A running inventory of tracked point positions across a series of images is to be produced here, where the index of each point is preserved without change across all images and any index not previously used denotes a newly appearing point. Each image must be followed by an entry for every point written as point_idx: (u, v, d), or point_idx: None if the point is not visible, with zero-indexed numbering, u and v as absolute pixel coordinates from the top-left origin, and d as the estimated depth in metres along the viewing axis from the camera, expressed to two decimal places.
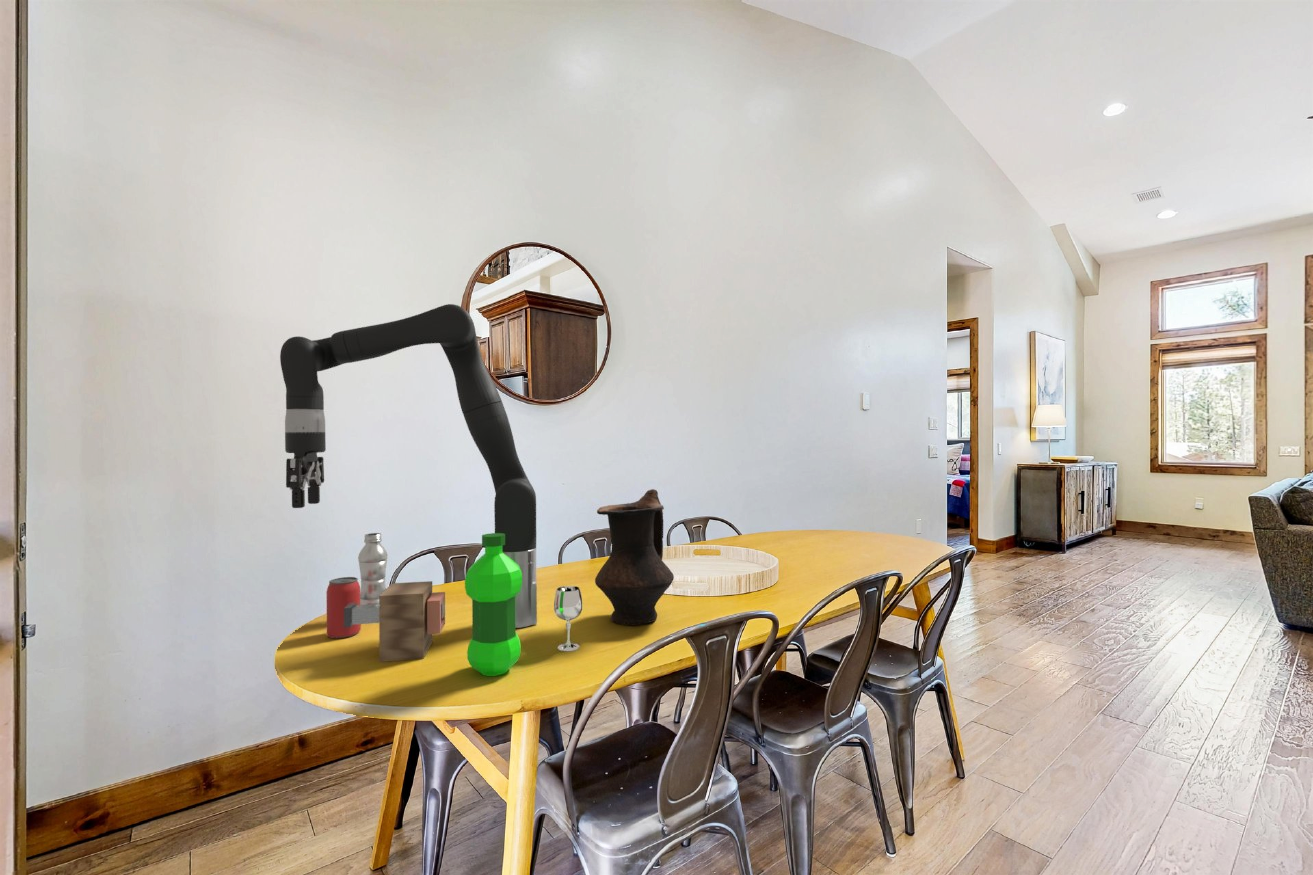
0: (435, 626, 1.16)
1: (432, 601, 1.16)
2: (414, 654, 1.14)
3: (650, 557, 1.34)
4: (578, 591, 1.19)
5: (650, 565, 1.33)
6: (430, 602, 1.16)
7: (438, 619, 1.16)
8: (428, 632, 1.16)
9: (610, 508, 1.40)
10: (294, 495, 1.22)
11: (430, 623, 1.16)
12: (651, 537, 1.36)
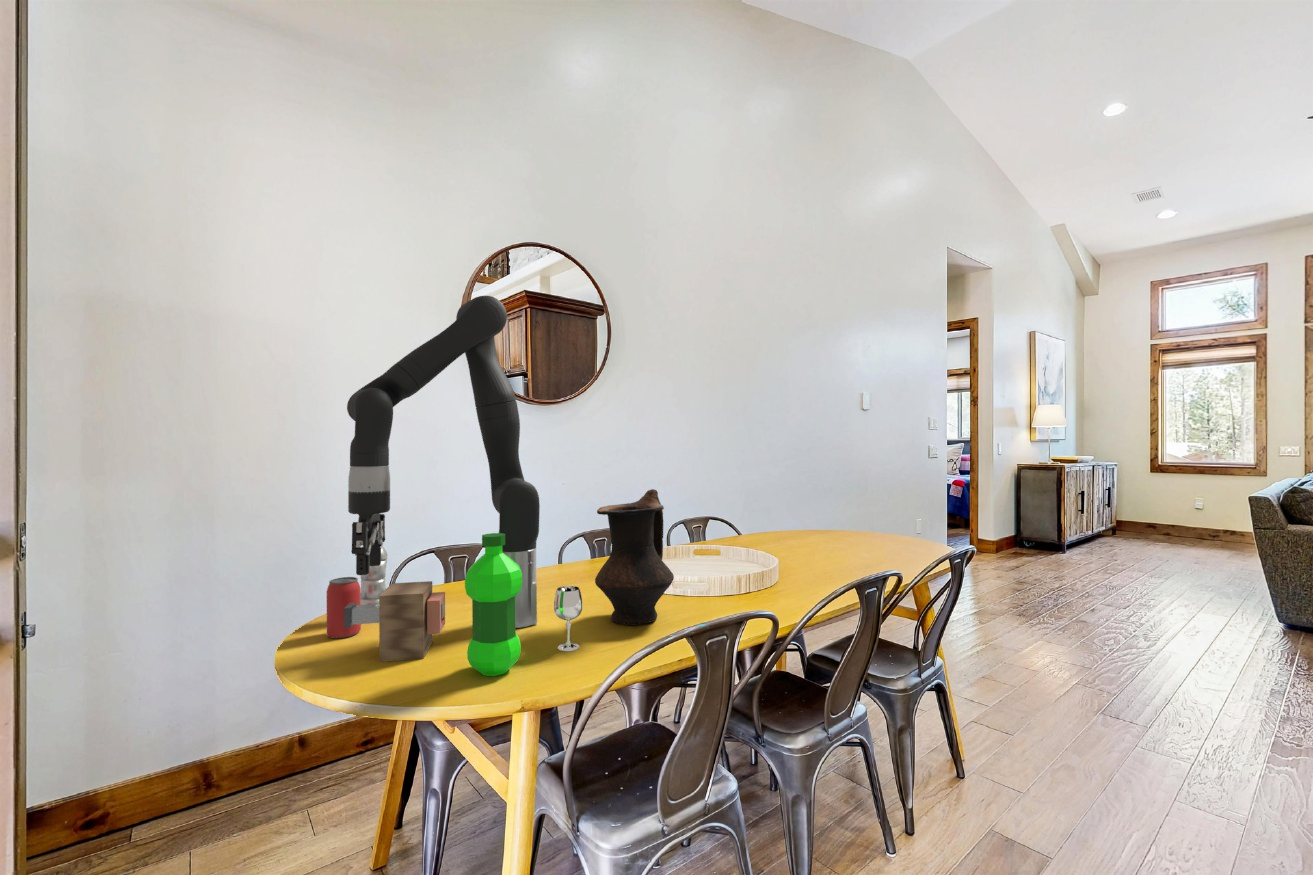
0: (435, 626, 1.16)
1: (432, 601, 1.16)
2: (414, 654, 1.14)
3: (650, 557, 1.34)
4: (578, 591, 1.19)
5: (650, 565, 1.33)
6: (430, 602, 1.16)
7: (438, 619, 1.16)
8: (428, 632, 1.16)
9: (610, 508, 1.40)
10: (359, 561, 1.12)
11: (430, 623, 1.16)
12: (651, 537, 1.36)
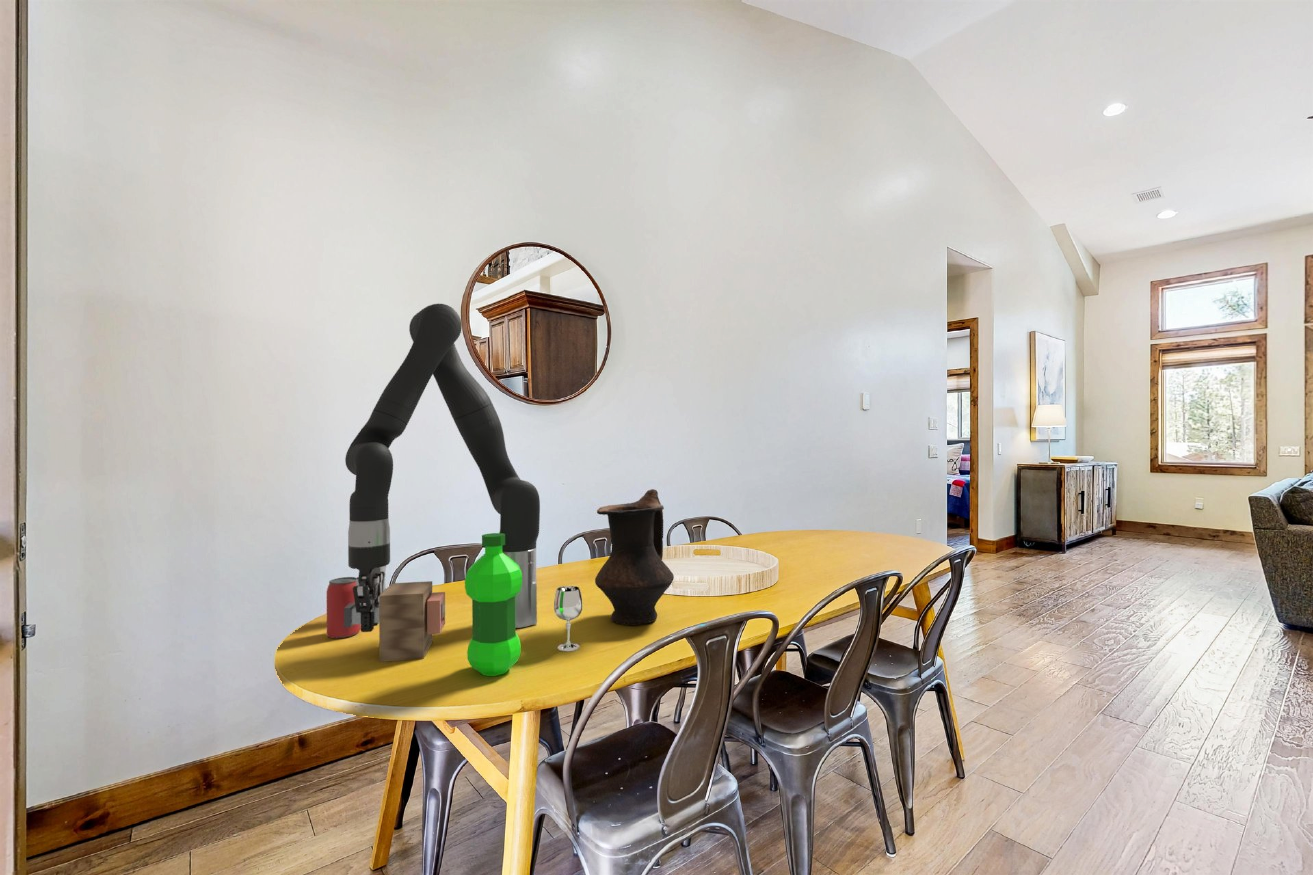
0: (435, 626, 1.16)
1: (432, 601, 1.16)
2: (414, 654, 1.14)
3: (650, 557, 1.34)
4: (578, 591, 1.19)
5: (650, 565, 1.33)
6: (430, 602, 1.16)
7: (438, 619, 1.16)
8: (428, 632, 1.16)
9: (610, 508, 1.40)
10: (363, 619, 1.14)
11: (430, 623, 1.16)
12: (651, 537, 1.36)
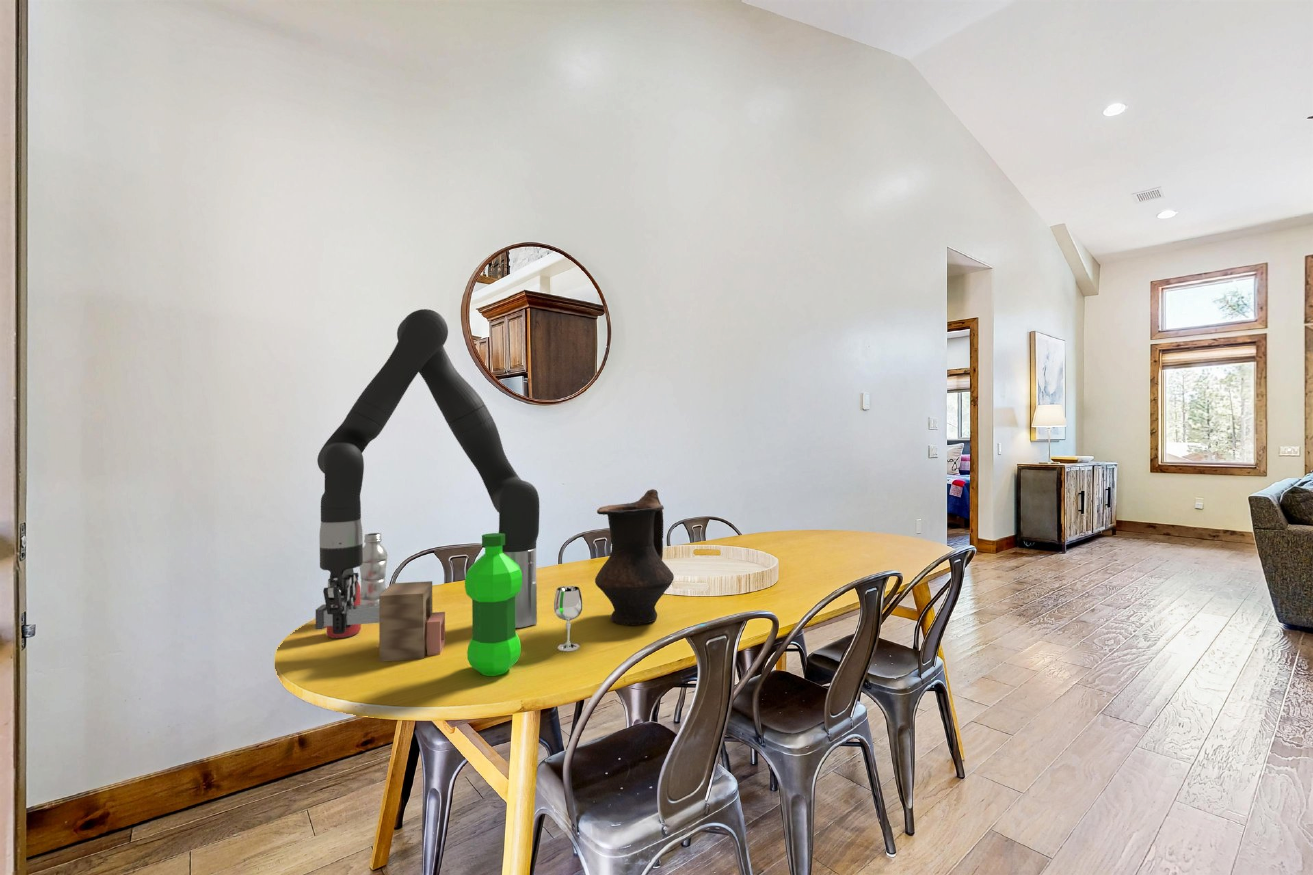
0: (435, 647, 1.16)
1: (432, 622, 1.16)
2: (414, 654, 1.14)
3: (650, 557, 1.34)
4: (578, 591, 1.19)
5: (650, 565, 1.33)
6: (430, 623, 1.16)
7: (438, 640, 1.16)
8: (428, 653, 1.16)
9: (610, 508, 1.40)
10: (335, 621, 1.13)
11: (430, 644, 1.16)
12: (651, 537, 1.36)
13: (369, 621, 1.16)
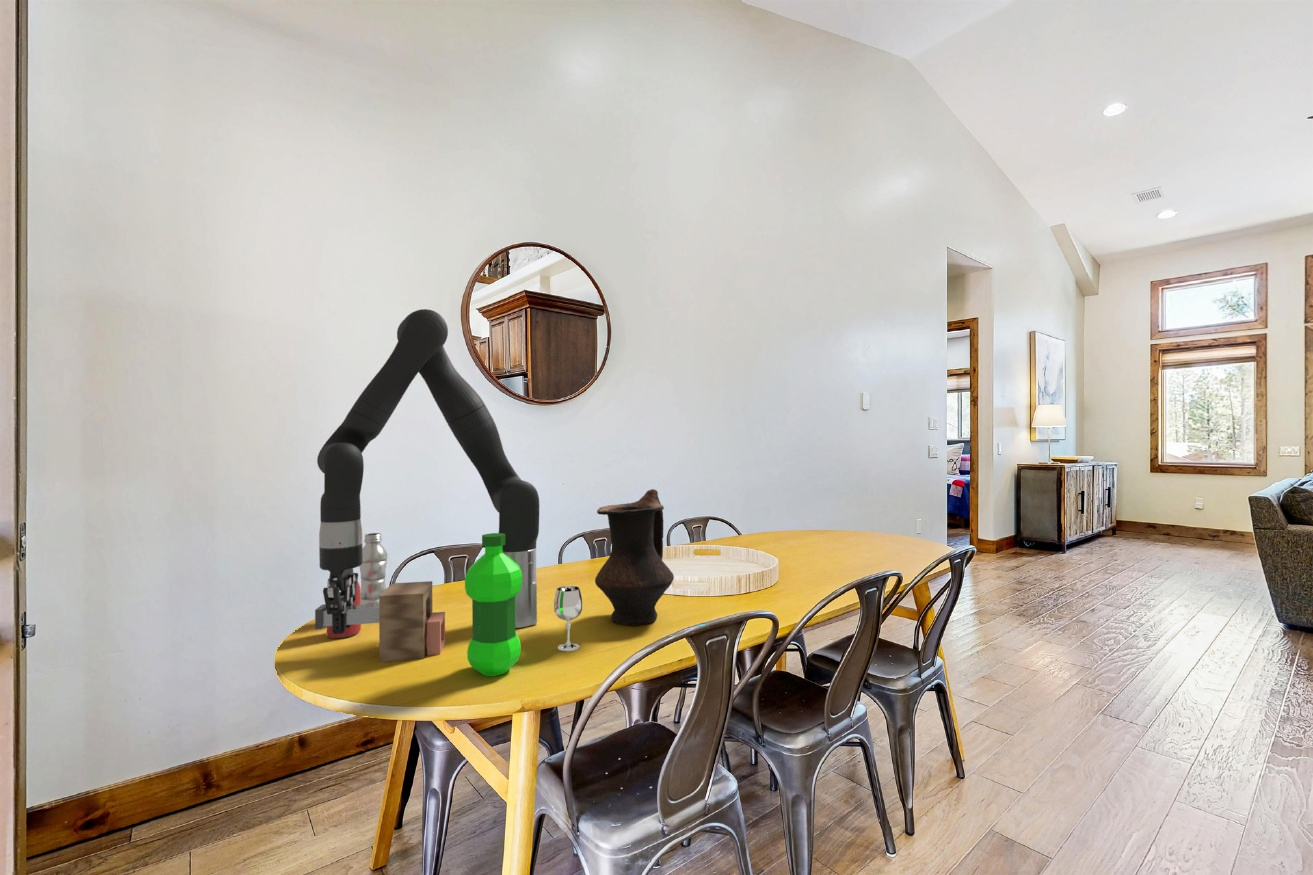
0: (435, 647, 1.16)
1: (432, 622, 1.16)
2: (414, 654, 1.14)
3: (650, 557, 1.34)
4: (578, 591, 1.19)
5: (650, 565, 1.33)
6: (430, 623, 1.16)
7: (438, 640, 1.16)
8: (428, 653, 1.16)
9: (610, 508, 1.40)
10: (335, 621, 1.13)
11: (430, 644, 1.16)
12: (651, 537, 1.36)
13: (369, 621, 1.15)
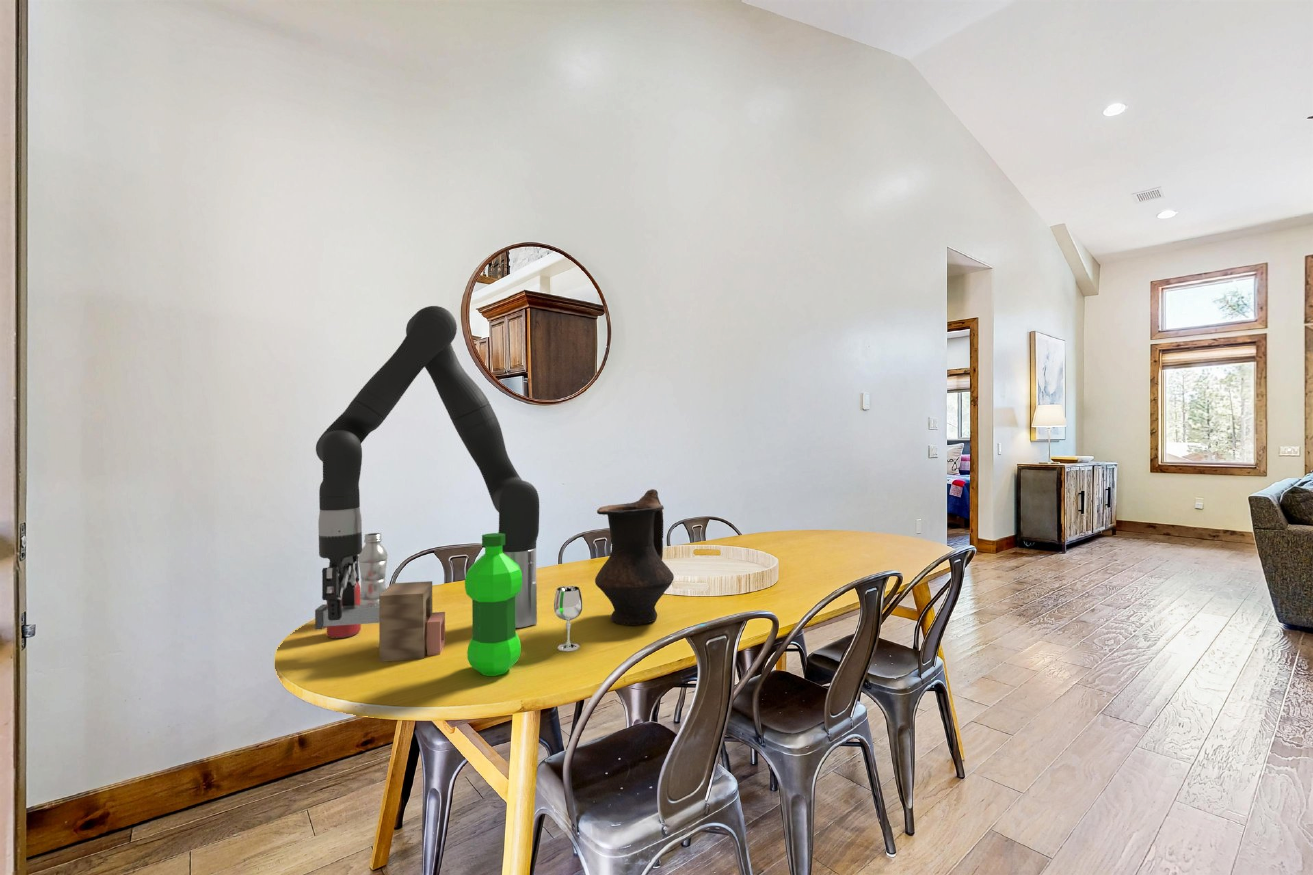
0: (435, 647, 1.16)
1: (432, 622, 1.16)
2: (414, 654, 1.14)
3: (650, 557, 1.34)
4: (578, 591, 1.19)
5: (650, 565, 1.33)
6: (430, 623, 1.16)
7: (438, 640, 1.16)
8: (428, 653, 1.16)
9: (610, 508, 1.40)
10: (331, 607, 1.11)
11: (430, 644, 1.16)
12: (651, 537, 1.36)
13: (369, 621, 1.15)
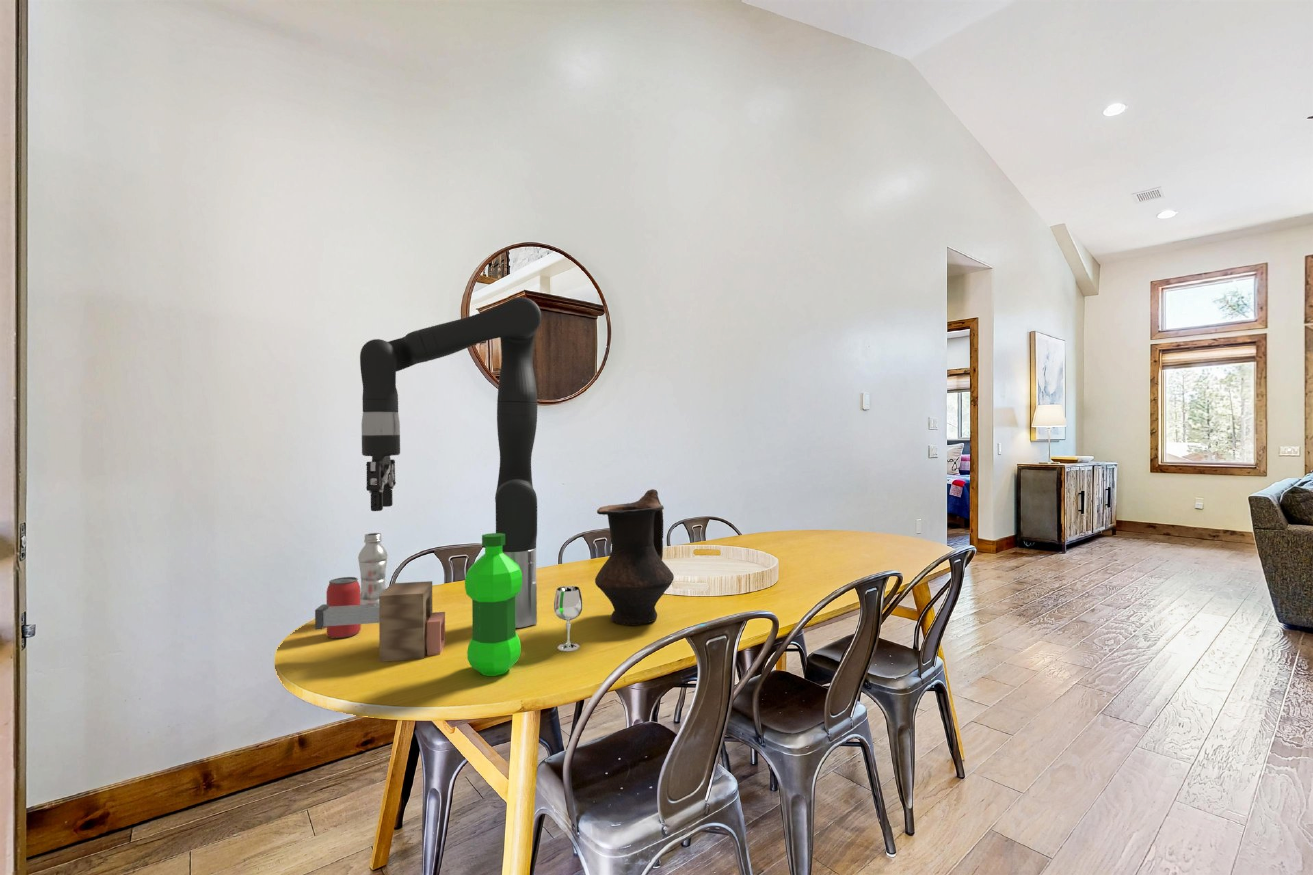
0: (435, 647, 1.16)
1: (432, 622, 1.16)
2: (414, 654, 1.14)
3: (650, 557, 1.34)
4: (578, 591, 1.19)
5: (650, 565, 1.33)
6: (430, 623, 1.16)
7: (438, 640, 1.16)
8: (428, 653, 1.16)
9: (610, 508, 1.40)
10: (373, 498, 1.21)
11: (430, 644, 1.16)
12: (651, 537, 1.36)
13: (369, 621, 1.15)
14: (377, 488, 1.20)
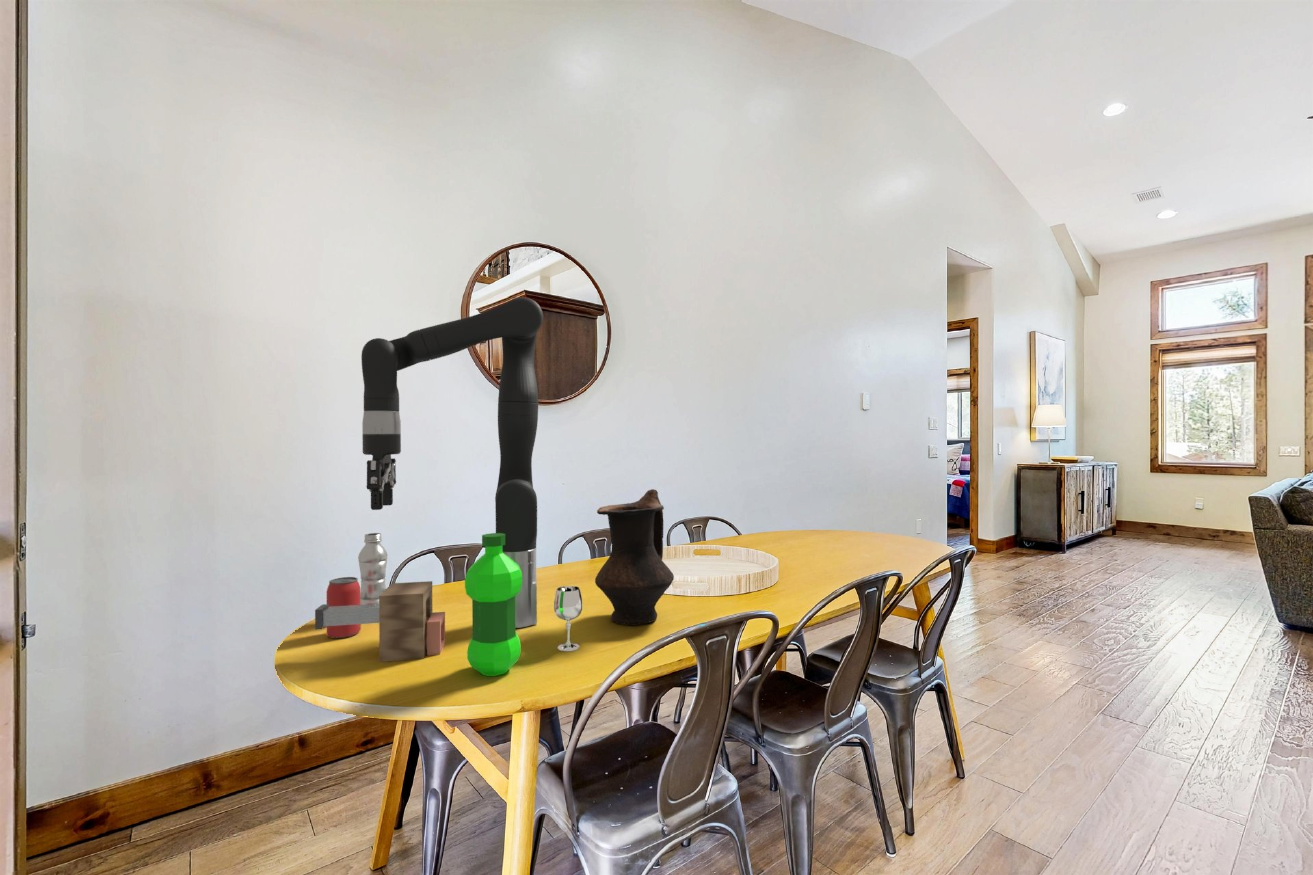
0: (435, 647, 1.16)
1: (432, 622, 1.16)
2: (414, 654, 1.14)
3: (650, 557, 1.34)
4: (578, 591, 1.19)
5: (650, 565, 1.33)
6: (430, 623, 1.16)
7: (438, 640, 1.16)
8: (428, 653, 1.16)
9: (610, 508, 1.40)
10: (373, 497, 1.21)
11: (430, 644, 1.16)
12: (651, 537, 1.36)
13: (369, 621, 1.15)
14: (377, 487, 1.20)
